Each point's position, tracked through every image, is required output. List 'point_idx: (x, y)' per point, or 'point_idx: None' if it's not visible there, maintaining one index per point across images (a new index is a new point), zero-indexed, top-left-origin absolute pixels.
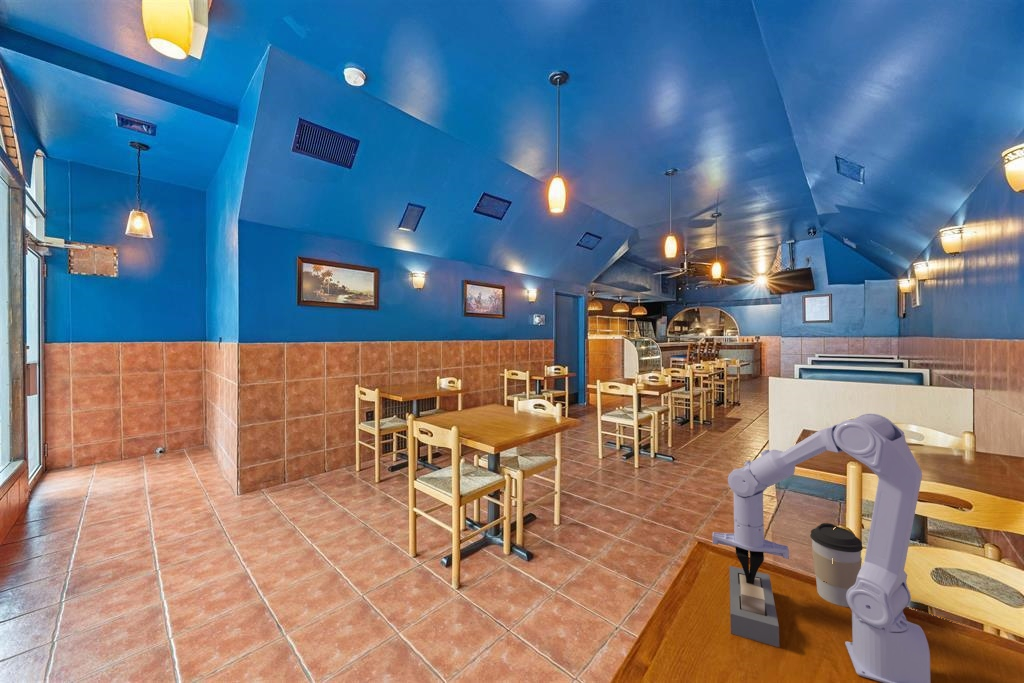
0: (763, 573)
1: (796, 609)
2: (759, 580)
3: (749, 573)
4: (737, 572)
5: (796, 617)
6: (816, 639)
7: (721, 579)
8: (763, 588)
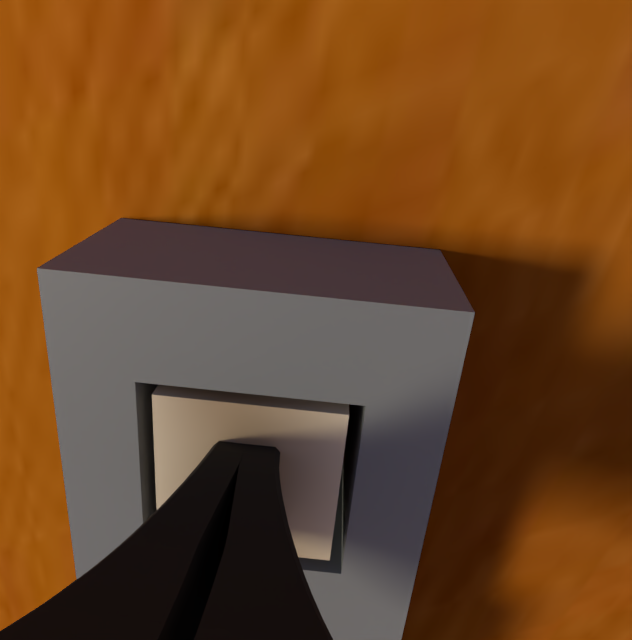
0: (412, 310)
1: (572, 410)
2: (338, 449)
3: (238, 467)
4: (131, 378)
5: (533, 488)
6: (565, 621)
7: (50, 190)
8: (349, 556)
